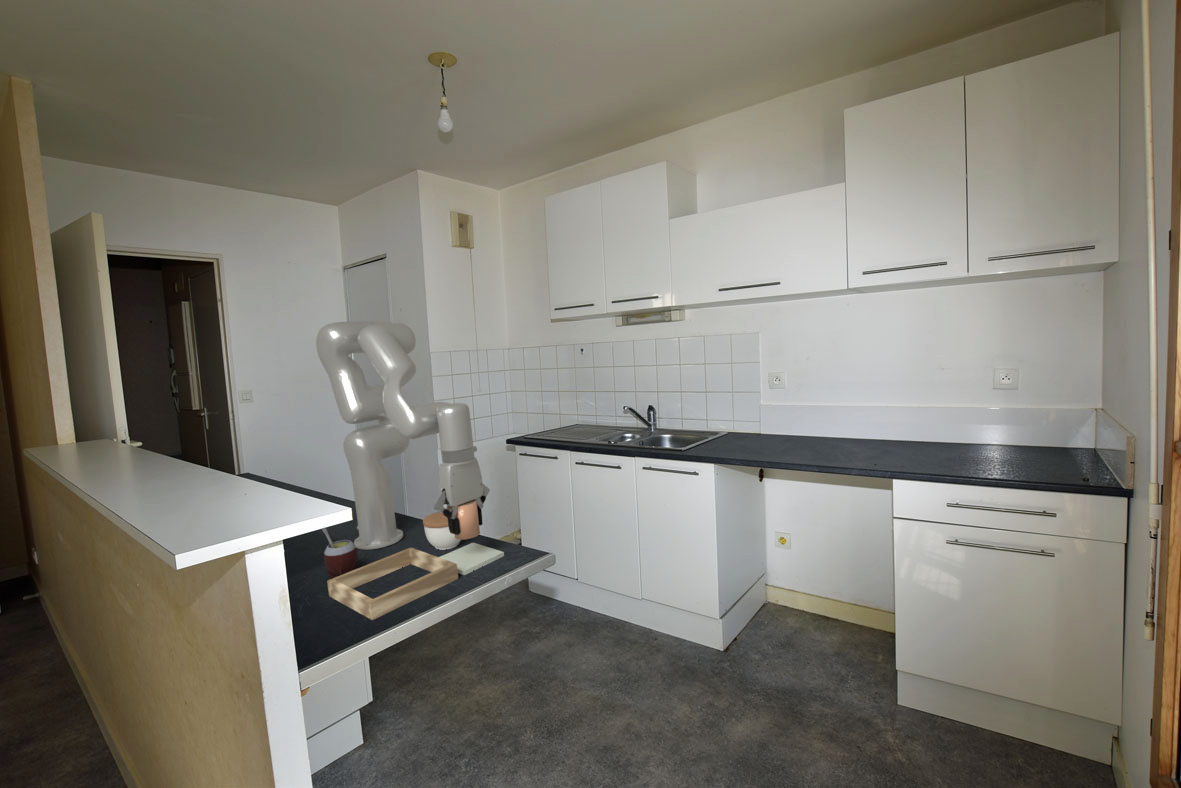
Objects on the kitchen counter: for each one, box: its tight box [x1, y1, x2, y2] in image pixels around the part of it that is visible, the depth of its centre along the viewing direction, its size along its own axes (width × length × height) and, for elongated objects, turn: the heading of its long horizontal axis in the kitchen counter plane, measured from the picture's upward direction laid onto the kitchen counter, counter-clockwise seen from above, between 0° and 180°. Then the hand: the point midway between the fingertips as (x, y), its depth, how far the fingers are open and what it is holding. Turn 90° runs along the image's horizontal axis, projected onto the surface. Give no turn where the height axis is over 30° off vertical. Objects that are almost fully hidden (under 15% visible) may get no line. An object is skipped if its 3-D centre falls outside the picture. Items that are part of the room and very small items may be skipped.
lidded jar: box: [422, 510, 462, 551], centre depth 140 cm, size 11×11×9 cm
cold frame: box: [326, 547, 459, 621], centre depth 118 cm, size 18×20×4 cm
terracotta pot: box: [451, 500, 481, 541], centre depth 129 cm, size 6×6×8 cm
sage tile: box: [438, 542, 505, 576], centre depth 130 cm, size 12×12×1 cm
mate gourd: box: [322, 527, 359, 580], centre depth 125 cm, size 8×8×15 cm
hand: (466, 528), depth 129 cm, fingers closed on terracotta pot, 6 cm apart
